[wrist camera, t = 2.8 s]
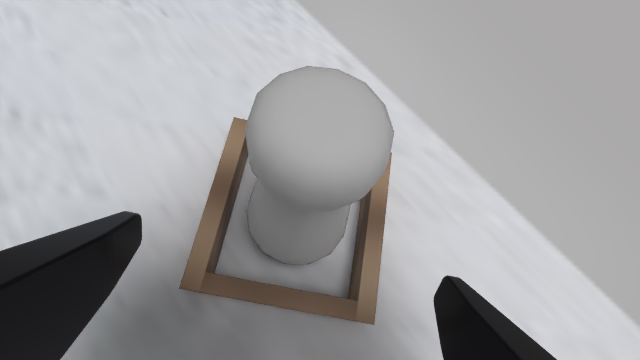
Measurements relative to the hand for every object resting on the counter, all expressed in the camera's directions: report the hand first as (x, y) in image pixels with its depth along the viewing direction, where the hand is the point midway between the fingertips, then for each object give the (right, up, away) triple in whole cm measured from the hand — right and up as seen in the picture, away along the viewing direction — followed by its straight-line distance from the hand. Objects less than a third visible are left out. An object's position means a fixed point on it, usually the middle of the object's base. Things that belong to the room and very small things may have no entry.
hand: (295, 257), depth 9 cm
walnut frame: (-1, 0, +11) cm, 11 cm away
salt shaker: (-1, -1, +11) cm, 11 cm away
